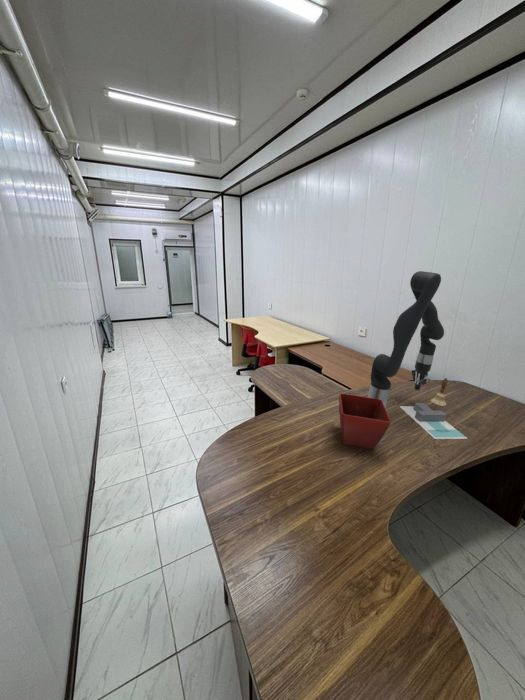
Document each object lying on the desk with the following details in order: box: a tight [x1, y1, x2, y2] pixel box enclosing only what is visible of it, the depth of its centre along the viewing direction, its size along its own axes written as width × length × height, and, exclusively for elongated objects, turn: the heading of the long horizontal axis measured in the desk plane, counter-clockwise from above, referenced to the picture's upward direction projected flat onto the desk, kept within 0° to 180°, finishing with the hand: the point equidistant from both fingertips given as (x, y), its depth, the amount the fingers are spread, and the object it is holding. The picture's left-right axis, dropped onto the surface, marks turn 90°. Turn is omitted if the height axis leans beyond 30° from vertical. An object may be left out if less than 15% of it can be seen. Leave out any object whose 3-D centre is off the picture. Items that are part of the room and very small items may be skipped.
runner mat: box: [399, 405, 468, 440], centre depth 143 cm, size 17×29×1 cm, turn 6°
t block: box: [414, 402, 447, 422], centre depth 148 cm, size 14×12×4 cm
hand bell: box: [430, 377, 448, 407], centre depth 161 cm, size 8×8×16 cm
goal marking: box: [427, 421, 466, 437], centre depth 137 cm, size 16×14×1 cm
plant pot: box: [338, 392, 392, 450], centre depth 122 cm, size 19×19×17 cm
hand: (416, 389), depth 155 cm, fingers closed
